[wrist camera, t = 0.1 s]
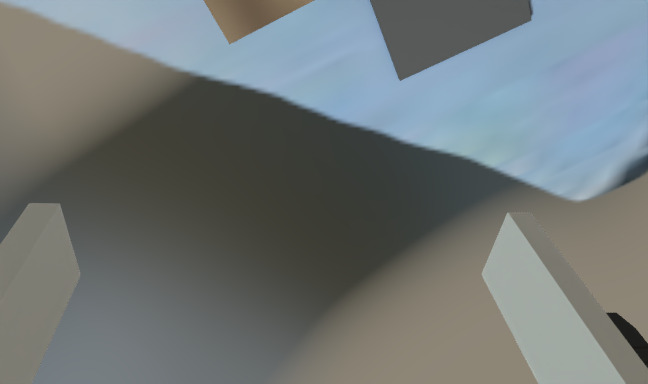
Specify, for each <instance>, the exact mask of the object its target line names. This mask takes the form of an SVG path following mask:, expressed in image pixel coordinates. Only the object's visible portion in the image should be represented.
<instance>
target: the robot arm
mask: <svg viewBox="0 0 648 384" xmlns="http://www.w3.org/2000/svg"><path fill="white" fill-rule="evenodd" d="M482 276H483V278H484V280H485V282H486V284H487V286H488V288H489V290H490V291H491V294H492V296H493V298H494V299H495V301H496V303H497V305H498V307H499V309H500V311H501V313H502V315H503V317H504V319H505V320H506V322H507V324H508V326H509V328H510V330H511V332H512V334H513V336H514V338H515V340H516V341H517V344H518V346H519V347H520V349H521V351H522V353H523V355H524V357H525V359H526V361H527V363H528V365H529V367H530V369H531V370H532V372H533V374H534V376H535V378H536V380H537V382H538V384H648V343H647V342H646V341H645V340H644V338H643V337H642V336H641V335H640V333H639V332H638V331H637V330H636V328H634V327H633V326H632V325H631V324H630V323H628V322H627V321H626V320H625V319H623V318H622V317H621V316H620V315H618V314H617V313H606V312H605V311H604V310H603V308H602V307H601V306H600V304H599V303H598V302H597V300H596V299H595V298H594V296H593V295H592V294H591V293H590V291H589V290H588V288H587V287H586V286H585V284H584V283H583V282H582V280H581V279H580V278H579V276H578V275H577V274H576V272H575V271H574V270H573V268H572V267H571V266H570V265H569V263H568V262H567V261H566V259H565V258H564V257H563V255H562V254H561V253H560V251H559V250H558V249H557V247H556V246H555V245H554V243H553V242H552V241H551V240H550V238H549V237H548V235H547V234H546V233H545V231H544V230H543V229H542V227H541V226H540V225H539V223H538V222H537V221H536V219H535V218H534V217H533V216H532V214H531V213H521V212H520V213H519V212H508V213H507V216H506V218H505V220H504V223H503V225H502V227H501V230H500V232H499V234H498V237H497V239H496V241H495V244H494V246H493V248H492V251H491V253H490V255H489V258H488V260H487V262H486V265H485V267H484V270H483V272H482ZM79 278H80V271H79V268H78V265H77V261H76V257H75V254H74V251H73V247H72V244H71V240H70V237H69V234H68V230H67V227H66V223H65V220H64V217H63V213H62V210H61V207H60V204H45V203H29V204H28V206H27V207H26V209H25V210H24V212H23V213H22V215H21V216H20V218H19V219H18V220H17V222H16V223H15V224H14V226H13V227H12V229H11V230H10V232H9V233H8V234H7V236H6V238H5V239H4V240H3V242H2V243H1V244H0V384H31V383H32V381H33V379H34V377H35V374H36V372H37V370H38V368H39V366H40V364H41V361H42V359H43V357H44V355H45V353H46V350H47V348H48V346H49V344H50V341H51V339H52V337H53V335H54V332H55V330H56V328H57V326H58V324H59V322H60V319H61V317H62V315H63V313H64V311H65V308H66V306H67V304H68V302H69V300H70V297H71V295H72V293H73V291H74V289H75V286H76V284H77V282H78V280H79Z"/></svg>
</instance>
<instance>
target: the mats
mask: <svg viewBox="0 0 648 384" xmlns="http://www.w3.org/2000/svg"><path fill="white" fill-rule="evenodd" d="M370 2H371V4H372V7H373V10H374V12H375V15H376V18H377V21H378V23H379V26H380V29H381V31H382V34H383V37H384V40H385V42H386V45H387V48H388V50H389V53H390V56H391V59H392V61H393V64H394V67H395V69H396V72H397V75H398V78H399V80H400V81H401V80H403V79H405V78H407V77H409V76H411V75H414V74H416V73H418V72H420V71H422V70H424V69H427V68H429V67H431V66H433V65H435V64H437V63H440V62H442V61H444V60H446V59H448V58H450V57H453V56H455V55H457V54H459V53H461V52H464V51H466V50H468V49H470V48H472V47H474V46H477V45H479V44H481V43H483V42H485V41H487V40H490V39H492V38H494V37H496V36H498V35H500V34H503V33H505V32H507V31H509V30H511V29H513V28H516V27H518V26H520V25H522V24H524V23H526V22H529V21H531V14H530V8H529V2H528V0H370Z"/></svg>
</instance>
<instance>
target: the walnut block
mask: <svg viewBox="0 0 648 384" xmlns="http://www.w3.org/2000/svg"><path fill="white" fill-rule="evenodd" d="M312 1H314V0H204V2H205V3H206V5H207V7H208V8H209V10H210V12H211V13H212V15H213V17H214V18H215V20H216V22H217V24H218V25H219V27H220V29H221V30H222V32H223V34H224V35H225V37H226V39H227V40H228V42H229V44H231V43H233V42H235V41H237V40H239V39H241V38H242V37H244V36H246V35H248V34H250V33H252V32H254V31H256V30H258V29H260V28H262V27H264V26H266V25H268V24H269V23H271V22H273V21H275V20H277V19H279V18H281V17H283V16H285V15H287V14H289V13H291V12H293V11H295V10H296V9H298V8H300V7H302V6H304V5H306V4H308V3H310V2H312Z"/></svg>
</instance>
